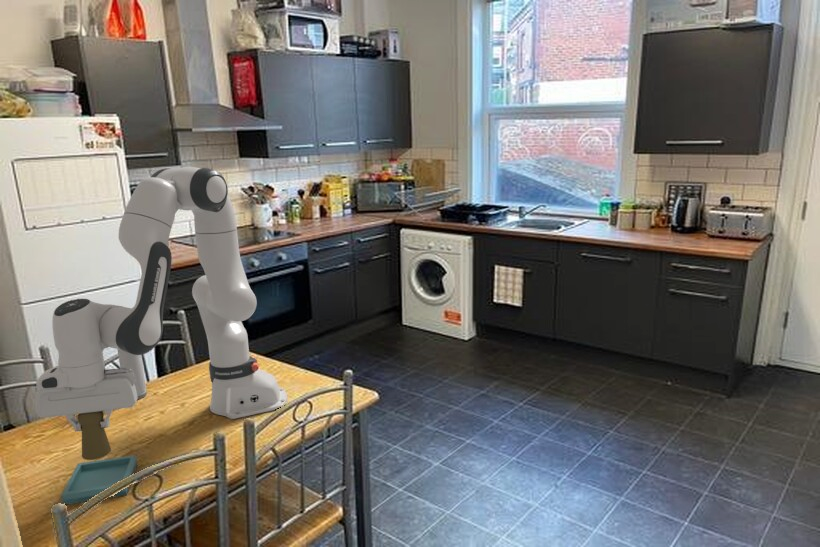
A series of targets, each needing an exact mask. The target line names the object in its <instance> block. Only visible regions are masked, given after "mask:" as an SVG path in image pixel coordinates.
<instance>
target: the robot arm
mask: <svg viewBox="0 0 820 547" xmlns="http://www.w3.org/2000/svg"><path fill="white" fill-rule="evenodd" d="M228 193H229V189H228V184H227V181H226V179H225V178H224V176H223V174H222V173H221V172H219V171H218V170H215V169H213V168H208V167H195V166H182V167H165V168H161V169H158V170H157V171H155V172H153V174H152V175H151V176H150V177H146V178H143V179H141V181H139V183H138V184H137V186H136V187H135V189H134V191H133V192H132V193H131V194H132V195H131V196H130V198H129V201H128V202H127V205H126V207H125V209H124V212H123V215H122V218H121V221H120V224H119V228H118V235H117V236H118V240H119V243H120V245H121V247H122V248H123V249H124V251H125V252H127V253H128V254H129V255H130V256H131V257H133V258H134V259H135V260H136V261H137V262H138V264H139V266H140V269H141V275H140V280H139V285H138V291H137V294H136V295H137V296H136V300H135V304H134V306H133V307H132V308H131V307H125V306H123V305H118V304H117V305H116V304H106V303H105V304H104V303H99V302H94V301H91V300H90V299H88V298H76V299H75V298H74V299H71V300H68V301H65V302H63V303H60V304H59V305H58V306H57V307H56V308H55V309H54V311H53V315H52V320H51V321H52V322H51V324H52V334H53V341H54V346H55V349H56V350H57V353H58V361H57V362H58V363H57V364H58V365H56V366H54V367H51V368H48V369H47V370H45V371H44V372H43V373H42V374H41V375H40V376H39V377H38V378H37V380H36V383H35V385H36V388H37V391H36V392H35V398H34V403H35V405H34V406H35V412H36V415H37V416H38V418H39V417H40V418H41V419H46V418H54V417H62V416H65V417H66V421H68V422H69V424H71V425H72V426H73V430H74V432H75V433H76V432H82V425H80V424H79V422H78V418H77V417H76V415H78V414H81V413H89V412H97V411H103V415H106V416H105V417H103V419H102V421H101V422H100V424H101V428H104V429H105V428H109V427H110V424H111V423H110V417H111V415H112V413H113V411H114V410H122V409H130V408H133V407H134V406H135V405H136V403H137V402H138V400H137V398H138V396H137V391H136V388H135V384H134V383H135V374H134V372H133V371H132V370H129V369H127V368H120V367H119V368H108V369H106V365H105V358H104V349H108V348H112V349H116V350H118V349H120V350H123V351H125V352H128V353H131V354H134V355H141V356H142V355H146V354H149V352H151V351H152V350H153V349H154V348H155V347H157V345H158V344H159V343H160V341H161V339H162V336H163V330H164V329H163V328H164V327H163V326H164V323H163V322H164V320H163V319H164V318H163V317H164V308H165V301H166V298H167V291H168V285H169V279H170V275H171V268H172V252H171V248H169V246H170V245H169V242H170V234H171V231H172V228H173V224H174V220H175V217H176V213H177V211H179V210H180V211H181V210H182V211H191V212H192V214H193V216H194V217H193V219H194V234H195V241H196V242H195V243H196V251H197V257H198V262H199V263H200V265H201V267H202V269H203V271H204V274H205V275H202V276H200V277H198V278H197V279H196V280H195V282H193V285H192V288H191V290H192V291H191V295H192V298H193V300H194V301H195V303H196V306H197V308H198V311H199V316H200V319H201V322H202V325H203V327H204V331H205V335H206V339H207V344H208V346H207V347H208V355H209V364H208V372H209V380H210V381H211V397H210V405H209V410H210V412H212V413H213V414H215V415H219V416H223V417H226V418H227V419H230V420H235V419H240V418H245V417H249V416H252V415H253V416H254V415H257V414H263V413H267V412H271V411H275V409H276V410H278V409H277V408H279V407H281V406H283V405H284V404H285V403H286V402H288V395H287V391H286V390H285V389H284V388H283V387H282V386H279V384H278V381H277V378H276V377H275V376H274V375H273V374H271V373H269V372H267V371H265V370H263V369H261V368H259V365H260V364H258V360H257V357H256V356H255V355H254V356H251V355H250V349H249V338H248V332H247V329H246V328H245V327H244V323H243V321H247V320H248V319H249V318H250V317H252V315H253V314H254V312H255V311H256V308H257V306H258V303H257V302H258V301H257V296H256V295H255V293H254V291H253V290H252V289H251V286H250V284H249V281H248V278H247V274H246V272H245V268H244V264H243V261H242V259H241V254H240V246H239V237H238V236H239V235H238V229H237V228H238V226H237V219H236V214H235V210H234V207H233V203H232V200H231V197H230V196H229V195H228ZM127 371H129V372H127ZM286 404H287V403H286Z"/></svg>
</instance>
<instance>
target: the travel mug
mask: <svg viewBox="0 0 820 547" xmlns="http://www.w3.org/2000/svg"><path fill="white" fill-rule="evenodd" d="M117 356H118V362H119V369H120V368H127V369H129V370H132V371H133V372H134V374H135V383H134V384H135V388H136V391H137V396H138V398H137V401H138V400H140V399H143V398H145V397H146V396H147V394H148V393H147V386H146V385H147V384H146V378H145V372H144V364H143V359H142V358H143V357H142V355H134V354H131V353H128V352H125V351H123V350H120V349H117ZM127 372H129V371H127Z"/></svg>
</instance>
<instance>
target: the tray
mask: <svg viewBox="0 0 820 547" xmlns="http://www.w3.org/2000/svg"><path fill="white" fill-rule="evenodd" d="M137 459H138V458H137V454H134V455H128V456H119V457H113V458H105V459H97V460H90V461H86V462H79V463H77V464H76V466H75V468H74V470H73V472H72V473H71V476H70V478H69V480H68V482H67V484H66V486H65V487H64V489H63V491H62V494H61V500H62V504H63V503H65V504H68V505H73V504H74V505H75V504H80V503H79V502H81V503H85V502H84V501H87V500H89V499H91V498H92V497H94V496H95V495H97V494H99V493H100V492H102V491H104V490H105V489H107V488H109V487H111V486H112V485H113V484H115V483H117V482H118V481H121V480H123V479H125V478H127V477H129V476H130V475H132V474H133V473H134V472H135V473H136V470H137V467H138V460H137ZM135 469H136V470H135ZM135 473H134V474H135ZM129 490H130V487H127V488H125V489H123V490H121V491H120V492H118V493H117V494H115V495H114V496H116V497H115V498H118V497H117V496H119V497H124V495H125V496H128V492H129ZM111 497H112V498H114V497H113V496H111ZM111 497H110V498H111ZM110 498H109V499H110ZM87 502H88V501H87Z"/></svg>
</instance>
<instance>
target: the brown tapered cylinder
mask: <svg viewBox="0 0 820 547" xmlns="http://www.w3.org/2000/svg"><path fill="white" fill-rule="evenodd" d="M104 415H105V414H104V411H97V412H89V413H81V414H77V420H78V422H79V424H80V425H82V431H81V458H82V459H83V460H86V461H95V460H100V459H101V458H103V457H106V456H107V455H109V454H110V453H111V451H112V449H111V445H110V442H109V439H108V436H107V434H106V433H107V432H106V430H105V428H101V424H100V422H101V421H102V419H103V418H104Z"/></svg>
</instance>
